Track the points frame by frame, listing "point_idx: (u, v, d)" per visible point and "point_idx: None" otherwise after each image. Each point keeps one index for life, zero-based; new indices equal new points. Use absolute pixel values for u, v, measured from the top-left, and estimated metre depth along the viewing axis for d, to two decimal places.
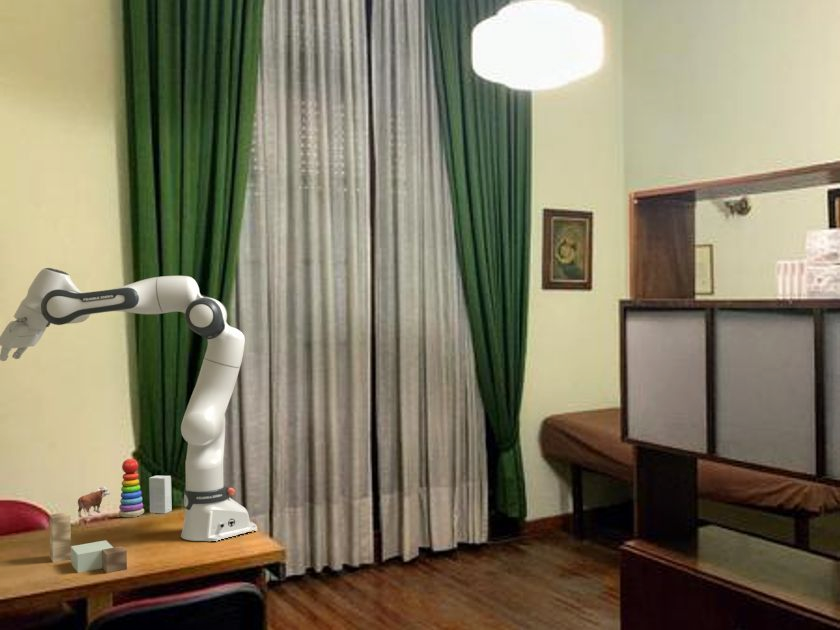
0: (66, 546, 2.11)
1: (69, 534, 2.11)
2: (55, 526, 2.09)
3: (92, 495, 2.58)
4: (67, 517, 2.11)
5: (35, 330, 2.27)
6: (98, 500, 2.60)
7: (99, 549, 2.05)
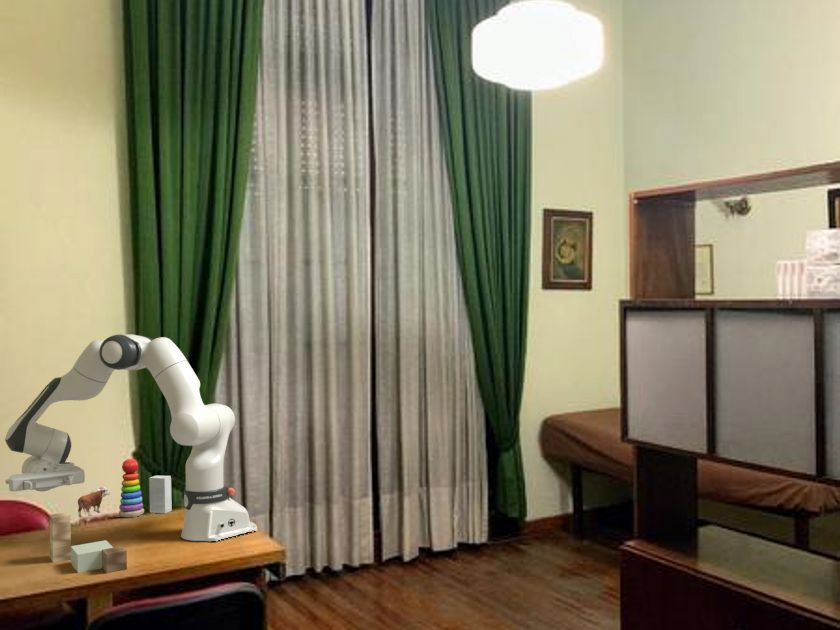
0: (66, 546, 2.11)
1: (69, 534, 2.11)
2: (54, 526, 2.09)
3: (92, 495, 2.58)
4: (67, 517, 2.11)
5: (41, 467, 2.31)
6: (98, 500, 2.60)
7: (99, 549, 2.05)
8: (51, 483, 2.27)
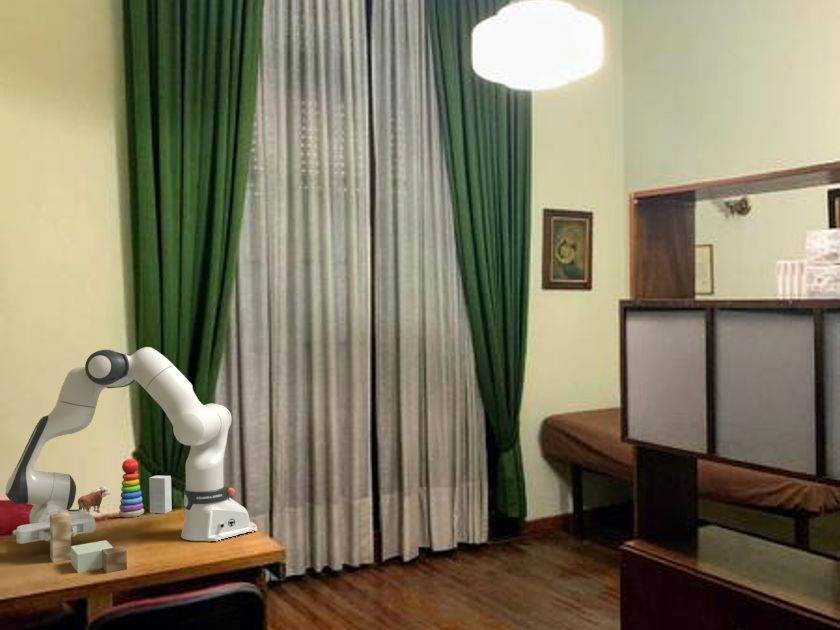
0: (66, 546, 2.11)
1: (69, 534, 2.11)
2: (55, 526, 2.09)
3: (92, 495, 2.58)
4: (67, 517, 2.11)
5: None
6: (98, 500, 2.60)
7: (99, 549, 2.05)
8: None
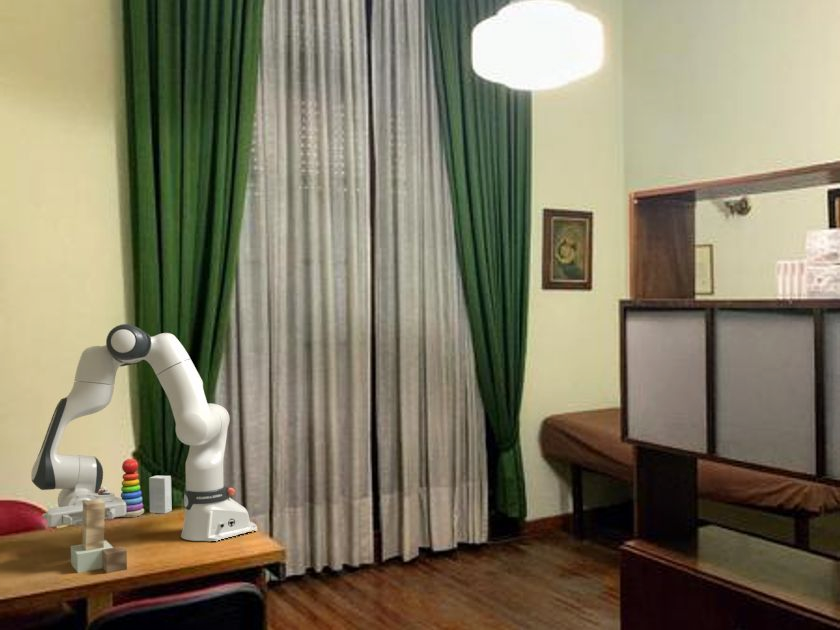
0: (99, 534, 2.05)
1: (103, 522, 2.06)
2: (89, 513, 2.04)
3: None
4: (101, 504, 2.06)
5: (80, 500, 2.14)
6: None
7: (99, 548, 2.05)
8: None
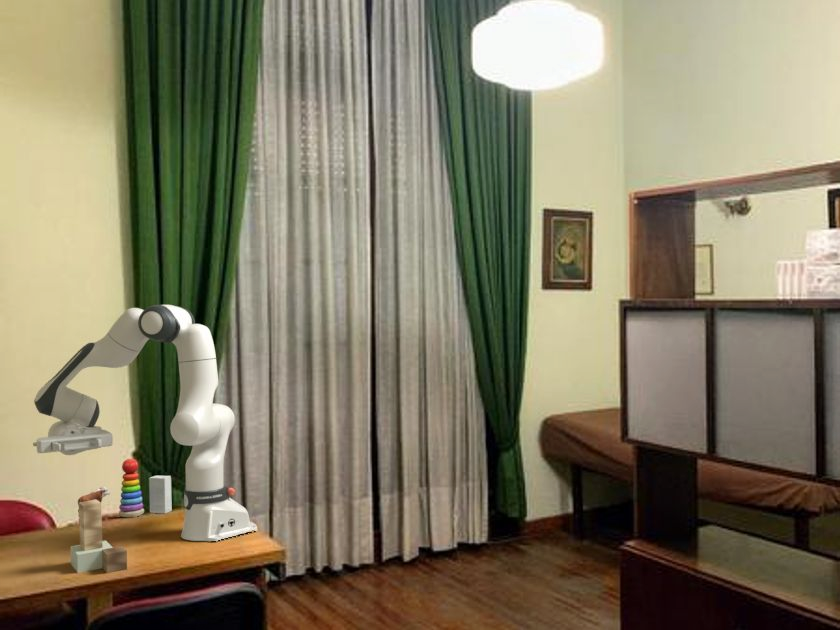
0: (97, 534, 2.05)
1: (100, 522, 2.06)
2: (85, 514, 2.03)
3: (92, 495, 2.58)
4: (98, 504, 2.05)
5: (69, 430, 2.27)
6: (98, 500, 2.60)
7: (98, 549, 2.05)
8: (79, 445, 2.23)
